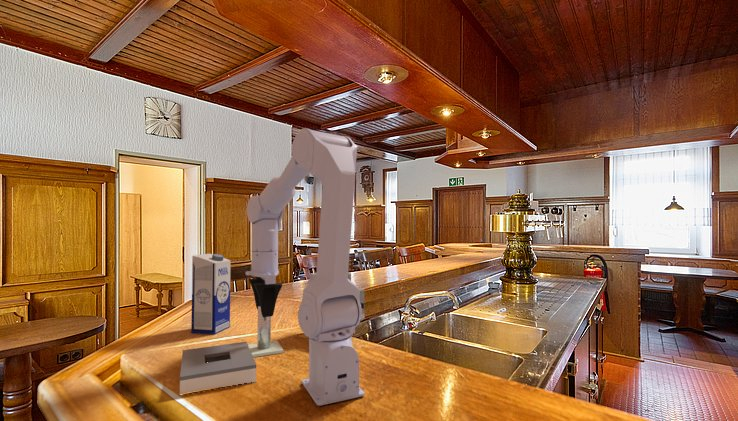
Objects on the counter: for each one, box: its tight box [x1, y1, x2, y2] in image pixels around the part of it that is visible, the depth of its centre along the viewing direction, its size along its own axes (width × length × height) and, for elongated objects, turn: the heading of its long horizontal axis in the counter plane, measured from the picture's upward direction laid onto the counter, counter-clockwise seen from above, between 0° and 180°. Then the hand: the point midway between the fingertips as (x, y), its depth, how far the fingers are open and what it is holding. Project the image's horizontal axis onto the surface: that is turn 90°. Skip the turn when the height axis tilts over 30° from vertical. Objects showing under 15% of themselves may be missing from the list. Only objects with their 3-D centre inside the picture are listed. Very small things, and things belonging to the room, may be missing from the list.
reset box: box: [179, 341, 257, 395], centre depth 68 cm, size 14×12×3 cm
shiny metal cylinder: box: [256, 306, 272, 349], centre depth 81 cm, size 3×3×9 cm
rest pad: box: [248, 340, 284, 358], centre depth 80 cm, size 7×7×1 cm
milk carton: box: [190, 253, 232, 335], centre depth 96 cm, size 7×7×20 cm
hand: (264, 312), depth 81 cm, fingers open, 7 cm apart
